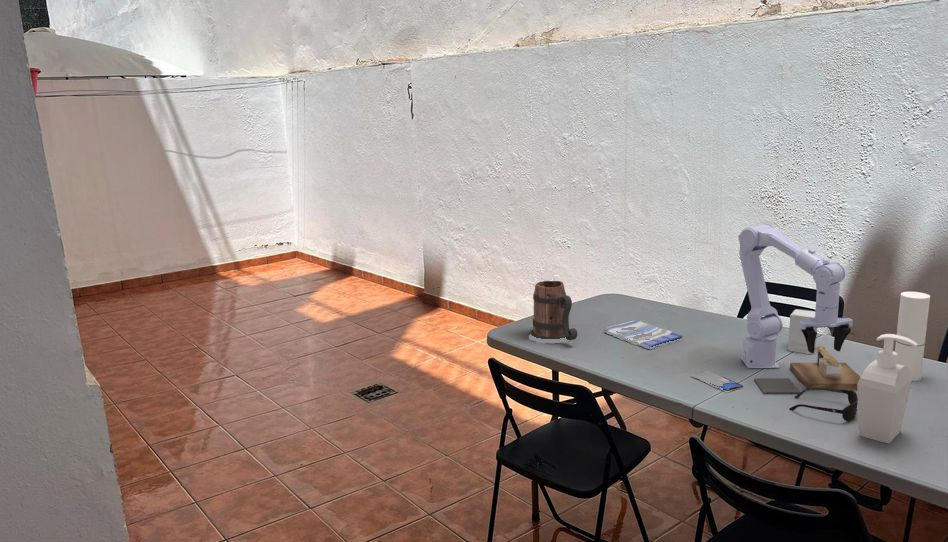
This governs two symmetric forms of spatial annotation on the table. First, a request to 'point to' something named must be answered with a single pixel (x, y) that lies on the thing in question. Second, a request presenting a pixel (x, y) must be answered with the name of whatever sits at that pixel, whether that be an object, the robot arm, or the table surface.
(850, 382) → the wooden base
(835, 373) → the grey block
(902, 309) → the cylindrical container
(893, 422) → the soap bottle
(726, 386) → the smartphone
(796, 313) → the supplement box
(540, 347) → the table surface
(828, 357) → the lever
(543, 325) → the tankard
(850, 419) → the sunglasses
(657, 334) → the dish towel
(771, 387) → the rubber mat
